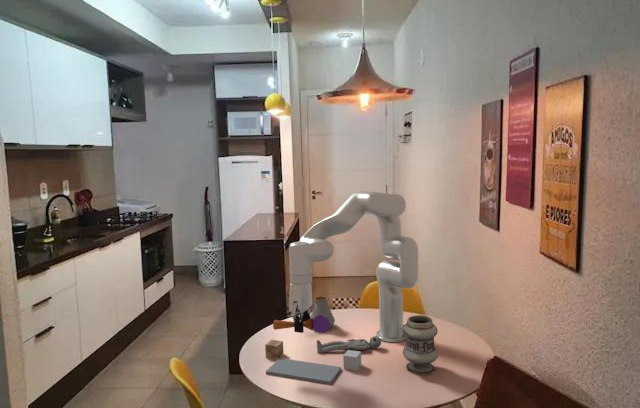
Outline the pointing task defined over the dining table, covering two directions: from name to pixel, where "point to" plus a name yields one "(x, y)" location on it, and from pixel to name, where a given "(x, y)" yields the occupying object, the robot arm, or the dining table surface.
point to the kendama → (306, 324)
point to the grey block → (352, 360)
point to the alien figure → (348, 344)
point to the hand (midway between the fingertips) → (302, 328)
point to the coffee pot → (321, 309)
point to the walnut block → (274, 349)
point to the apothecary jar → (420, 344)
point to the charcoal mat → (304, 370)
